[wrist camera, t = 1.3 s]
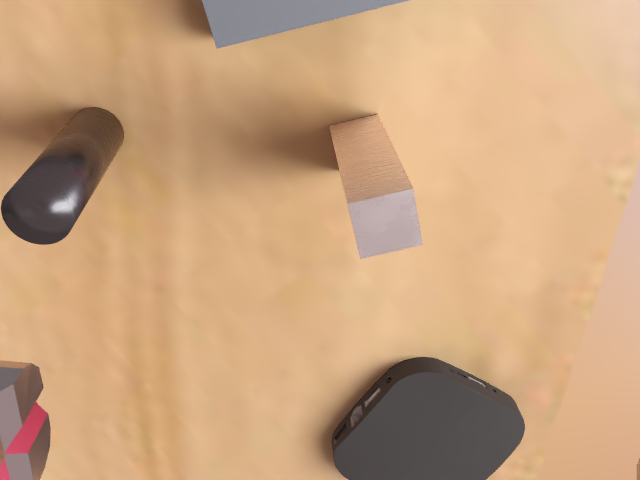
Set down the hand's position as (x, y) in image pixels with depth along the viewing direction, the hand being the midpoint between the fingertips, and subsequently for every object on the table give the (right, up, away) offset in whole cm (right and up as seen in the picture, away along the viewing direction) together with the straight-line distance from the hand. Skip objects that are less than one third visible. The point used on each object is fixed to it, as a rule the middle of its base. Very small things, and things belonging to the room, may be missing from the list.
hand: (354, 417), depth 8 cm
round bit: (-15, +9, +33) cm, 37 cm away
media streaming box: (+9, -15, +49) cm, 52 cm away
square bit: (+2, +9, +34) cm, 36 cm away
